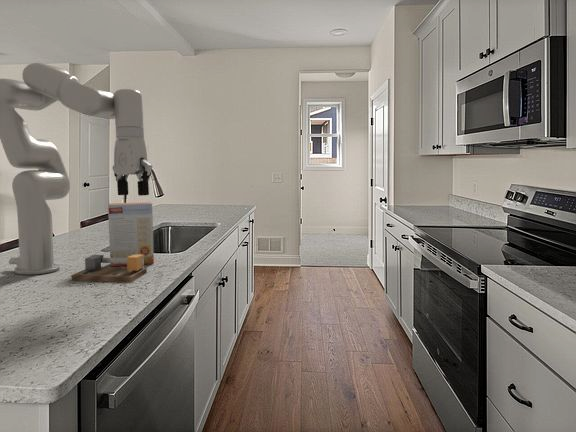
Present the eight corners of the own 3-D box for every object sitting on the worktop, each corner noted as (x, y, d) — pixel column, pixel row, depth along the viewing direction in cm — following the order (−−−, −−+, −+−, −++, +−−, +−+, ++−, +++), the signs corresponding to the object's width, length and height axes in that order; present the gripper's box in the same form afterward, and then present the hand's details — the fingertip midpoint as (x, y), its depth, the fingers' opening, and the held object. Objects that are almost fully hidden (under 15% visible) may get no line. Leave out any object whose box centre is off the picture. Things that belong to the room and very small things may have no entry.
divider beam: (76, 273, 142) (75, 260, 142) (91, 267, 151) (91, 254, 151) (132, 275, 141) (132, 261, 140) (144, 268, 150) (144, 255, 150)
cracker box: (151, 260, 170) (150, 201, 168) (154, 264, 164) (152, 203, 162) (109, 263, 165) (107, 202, 162) (110, 267, 159) (108, 204, 157)
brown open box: (71, 280, 140) (71, 274, 140) (91, 271, 152) (90, 266, 152) (131, 281, 139) (131, 276, 139) (146, 272, 151) (146, 267, 151)
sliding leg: (122, 273, 141) (122, 259, 141) (134, 266, 150) (134, 253, 150) (132, 273, 141) (132, 259, 140) (144, 267, 150) (143, 254, 150)
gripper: (100, 136, 138) (104, 195, 140) (137, 131, 128) (140, 196, 129) (123, 137, 144) (126, 194, 146) (160, 133, 134) (163, 194, 135)
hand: (133, 195), depth 138 cm, fingers open, 9 cm apart
